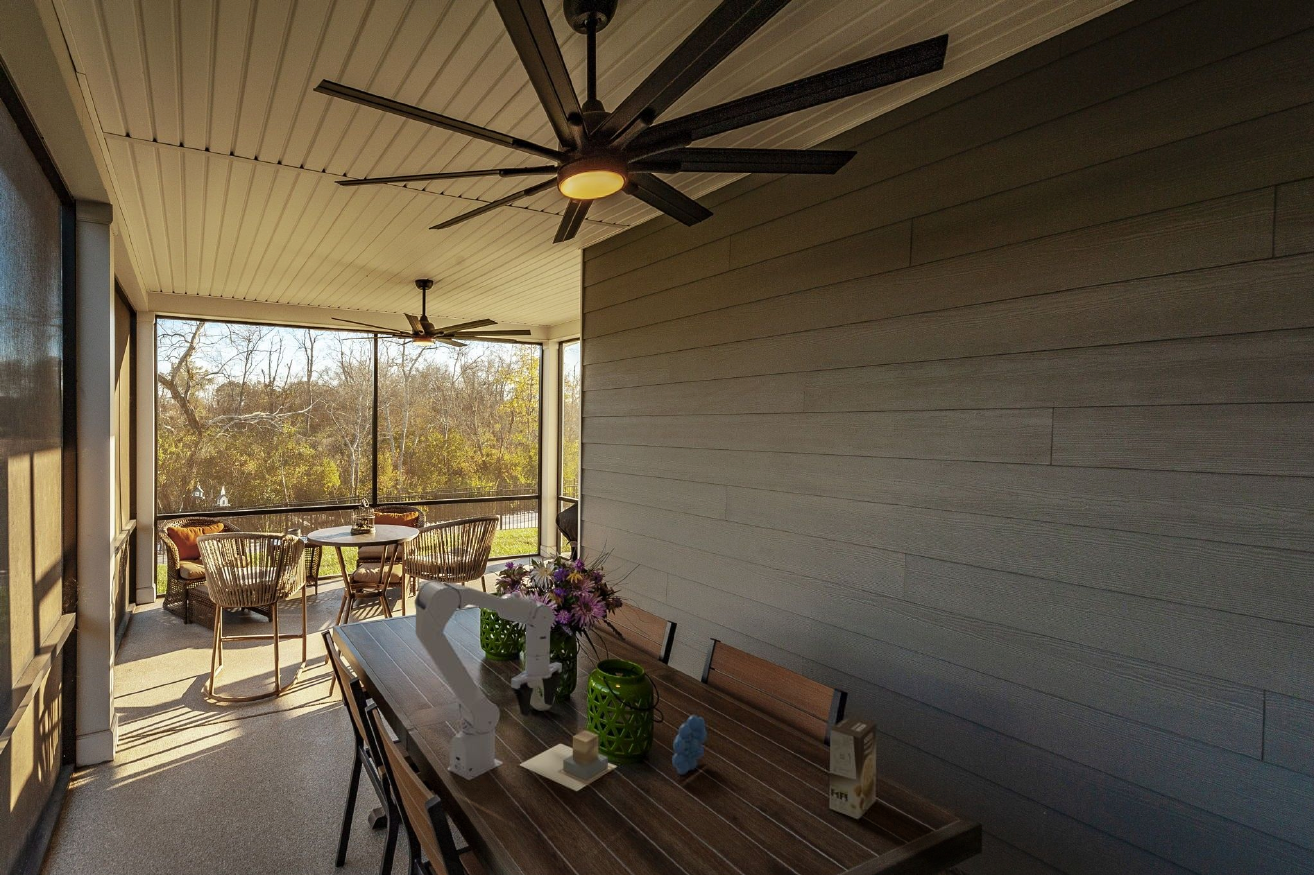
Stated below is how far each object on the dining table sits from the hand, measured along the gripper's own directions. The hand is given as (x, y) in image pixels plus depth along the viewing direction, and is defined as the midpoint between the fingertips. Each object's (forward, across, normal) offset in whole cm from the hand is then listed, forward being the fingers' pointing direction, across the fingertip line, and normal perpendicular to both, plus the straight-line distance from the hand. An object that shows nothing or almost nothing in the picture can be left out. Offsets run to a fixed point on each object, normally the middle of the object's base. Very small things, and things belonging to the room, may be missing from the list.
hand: (537, 709), depth 153 cm
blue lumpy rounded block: (+10, +14, -34) cm, 38 cm away
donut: (+10, +16, +16) cm, 25 cm away
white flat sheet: (+9, -2, -12) cm, 16 cm away
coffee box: (+10, +23, -69) cm, 73 cm away
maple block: (+6, -1, -17) cm, 18 cm away
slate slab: (+9, -1, -17) cm, 19 cm away
